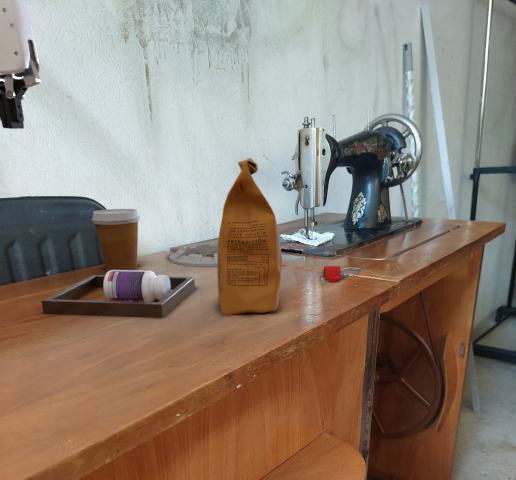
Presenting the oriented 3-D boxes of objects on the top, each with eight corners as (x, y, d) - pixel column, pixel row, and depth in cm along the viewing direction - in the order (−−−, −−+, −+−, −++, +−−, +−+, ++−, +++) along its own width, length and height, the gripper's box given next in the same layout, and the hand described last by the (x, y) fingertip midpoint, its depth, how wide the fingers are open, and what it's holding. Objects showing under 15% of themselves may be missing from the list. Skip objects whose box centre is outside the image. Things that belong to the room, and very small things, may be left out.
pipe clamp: (322, 272, 103) (322, 261, 102) (336, 272, 103) (337, 261, 102) (326, 282, 95) (326, 270, 95) (341, 282, 95) (342, 270, 94)
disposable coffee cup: (88, 271, 108) (80, 212, 104) (124, 263, 115) (117, 207, 111) (119, 276, 103) (112, 214, 98) (154, 267, 110) (149, 209, 106)
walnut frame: (43, 316, 79) (41, 300, 78) (95, 288, 94) (93, 274, 94) (162, 320, 76) (161, 304, 75) (195, 290, 91) (194, 277, 90)
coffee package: (282, 295, 87) (281, 157, 79) (281, 318, 76) (280, 158, 68) (223, 296, 88) (217, 158, 80) (214, 318, 76) (205, 160, 68)
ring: (203, 270, 106) (203, 261, 106) (153, 258, 120) (152, 249, 119) (271, 256, 119) (271, 248, 118) (219, 246, 132) (218, 238, 131)
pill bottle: (104, 307, 83) (162, 308, 81) (100, 274, 81) (159, 275, 80) (118, 298, 88) (173, 299, 86) (114, 266, 86) (170, 267, 84)
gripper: (-77, -16, 71) (-47, 128, 78) (22, -24, 69) (44, 126, 75) (-39, -2, 78) (-14, 130, 85) (52, -8, 76) (70, 128, 82)
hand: (13, 128), depth 80 cm, fingers closed
